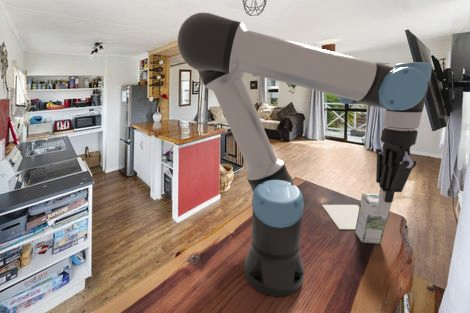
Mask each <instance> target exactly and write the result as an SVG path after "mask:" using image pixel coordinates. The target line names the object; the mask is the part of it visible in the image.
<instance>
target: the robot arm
mask: <svg viewBox="0 0 470 313" xmlns="http://www.w3.org/2000/svg"><path fill="white" fill-rule="evenodd" d="M177 47H178V51H179V54H180V56H181V58H182V59H183V60H184V62H185V63H186V64H187V65H188V66H189V67H191V68H192V69H194V70H196V71H197V72H198V75H199V77H200V79H201V81H202V84H203V85H204V88H205V89H208V90H210V91H212V92H213V93H214V95H215V98H216V100H217V103H218V104H219V107H220V109H221V111H222V113H223V116H224V118H225V120H226V122H227V124H228V126H229V129H230V131H231V134H232V135H233V138H234V140H235V142H236V144H237V147H238V149H239V151H240V153H241V154H240V155H242V158H243V160H244V162H245V165H246V167H247V169H248V170H247V173H246V176H245V177H246V180H247V182H248V184H249V186H250V189H251V191H252V198H251V207H252V214H251V215H252V217H251V219H252V220H251V222H252V223H251V245H250V247H249V250H248V252H247V255H246V257H245V260H244V276H245V279H246V281H247V282H248V284H249V285H250V286H251V287H252V288H253V289H254V290H256V291H258V292H260V293H261V294H264V295H267V296H270V297H286V296H290V295H292V294H294V293H296V292H298V291H299V289H300V288H301V287H302V285H303V283H304V279H305V278H304V277H305V266H304V263H303V259H302V256H301V252H300V242H301V235H302V234H301V232H302V223H303V213H304V209H305V207H304V206H305V203H304V195H303V194H302V191H301V190H300V188H299V187H298V186H296V185H295V184H294V181H293V178H292V176H291V175H290V174H289V172H288V169H287V166H286V164H285V162H284V160H282V159H279V158H277V157H276V156H277V155H276V154H275V151H274V149H273V146H272V144H271V142H270V139H269V137H268V135H267V133H266V131H265V127H264V125H263V122H262V121H261V118H260V115H259V114H258V111H257V108H256V106H255V104H254V101H253V98H252V96H251V94H250V91H249V89H248V87H247V84H246V82H245V79H244V75H245V73H246V74H251V75H255V76H256V77H257V76H258V77H262V78H266V79H270V80H274V81H277V82H281V83H285V84H289V85H293V86H297V87H301V88H304V89H309V90H312V91H316V92H321V93H323V94H324V93H325V94H328V95H332V96H336V97H338V98H337V99H338V101H339V102H340V103H341V104H345V105H346V104H348V105H365V106H369V107H376V108H381V109H385V114H384V118H383V123H382V125H383V126H384V127H383V128H382V130H381V134H380V141H381V142H382V143H383V144H382V147H381V148H376V149H375V154H376V174H375V176H376V177H375V178H376V179H375V181H376V183H377V184H379V188H380V190H379V193H378V194H379V201H378V206H377V210H378V211H380V212H388V213H390V212H391V206H392V203H393V201H394V197H395V193H402V191H403V190H404V188H405V185H406V183H407V181H408V179H409V177H410V174H411V172H412V170H413V169H414V168H415V167H416V166H417V161H416V160H412V159H411V157H410V156H411V147H412V146H415V145H416V142H417V138H418V133H419V131H418V130H417V129H419V127H420V124H421V119H422V114H423V110H424V108H425V102H426V98H427V94H428V90H429V86H430V84H431V77H432V68H433V67H432V64H431V63H429V62H425V61H424V62H423V61H421V62H420V61H417V62H401V63H400V62H399V63H397V64H395V65H394V66H389V65H386V64H381V63H377V62H374V61H370V60H366V59H362V58H358V57H354V56H351V55H345V54H342V53H339V52H335V51H332V50H331V51H330V50H327V49H322V48H318V47H314V46H311V45H307V44H303V43H300V42H295V41H292V40H291V41H290V40H288V39H284V38H279V37H276V36H272V35H268V34H263V33H261V32H256V31H252V30H249V29H247V28H246V26H245V24H244V22H241V21H237V20H233V19H230V18H227V17H223V16H220V15H217V14H214V13H209V12H197V13H194V14H192V15H190V16H189V17H188V18H186V19H185V20H184V21H183V22H182V24H181V26H180V28H179V30H178V34H177Z"/></svg>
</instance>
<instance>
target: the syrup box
mask: <svg viewBox="0 0 470 313" xmlns="http://www.w3.org/2000/svg"><path fill="white" fill-rule="evenodd" d="M360 196H361V198H360V202H359V213H358V218H357V224H356V229H355V230H354V233H355V234H356V236H357V237H358V239H359V240H360V242H361V243H362V244H372V245H373V244H375V245H376V244H377V245H381V244H382V242H383V236H384V232H385V228H386V224H387V219H388V215H389V212H380V211H378V210H377V206H378V201H379V193H378V194H377V193H361V195H360Z"/></svg>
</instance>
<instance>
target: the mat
mask: <svg viewBox="0 0 470 313" xmlns="http://www.w3.org/2000/svg"><path fill="white" fill-rule="evenodd" d="M321 206H322V208H323V209H324V210H325V212H326V213H327V214H328V216H329V217H330V219H331V220H332V221H333V222H332V223H334V225H335V226H336V227H337V228H338V230H339V231H355V229H356V224H357V218H358V213H359V207H360V205H358V204H322V205H321Z"/></svg>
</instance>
